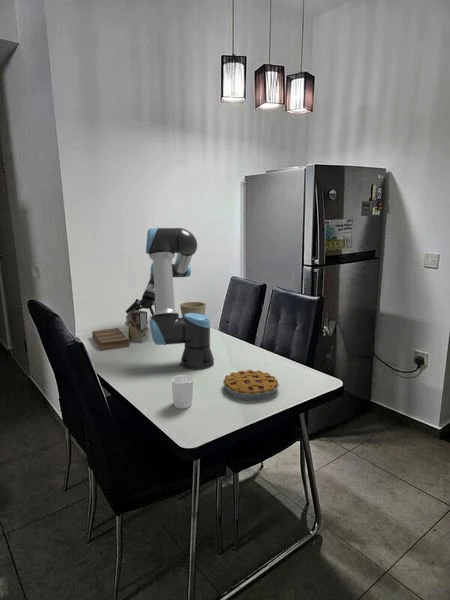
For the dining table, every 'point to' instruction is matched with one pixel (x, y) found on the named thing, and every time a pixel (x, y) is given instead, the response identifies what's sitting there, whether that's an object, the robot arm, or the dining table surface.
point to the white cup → (182, 391)
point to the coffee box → (137, 326)
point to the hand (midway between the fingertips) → (136, 326)
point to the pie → (250, 384)
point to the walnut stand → (110, 339)
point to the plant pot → (192, 308)
